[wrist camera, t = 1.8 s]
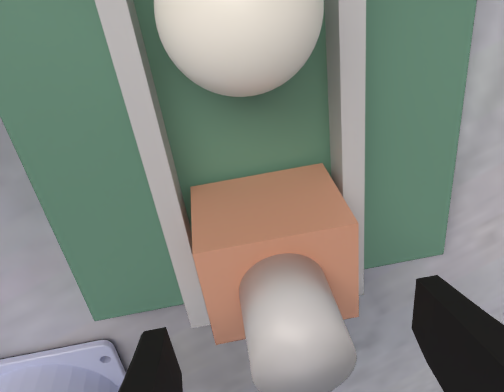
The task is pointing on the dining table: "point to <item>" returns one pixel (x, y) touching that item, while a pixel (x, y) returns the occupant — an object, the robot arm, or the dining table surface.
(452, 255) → the dining table surface
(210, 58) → the ball
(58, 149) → the pitch board
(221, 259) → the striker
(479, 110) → the dining table surface
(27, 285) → the dining table surface
